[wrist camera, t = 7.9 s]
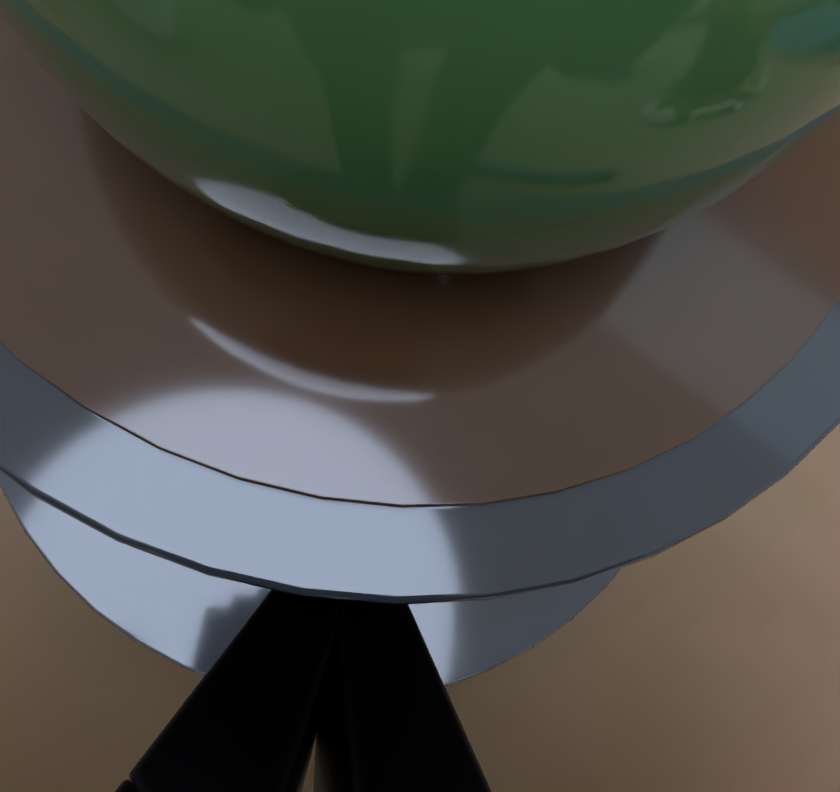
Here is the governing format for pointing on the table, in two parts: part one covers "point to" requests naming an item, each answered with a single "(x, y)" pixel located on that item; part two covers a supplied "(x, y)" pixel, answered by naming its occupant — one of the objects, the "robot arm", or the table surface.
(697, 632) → the table surface
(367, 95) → the plant pot
